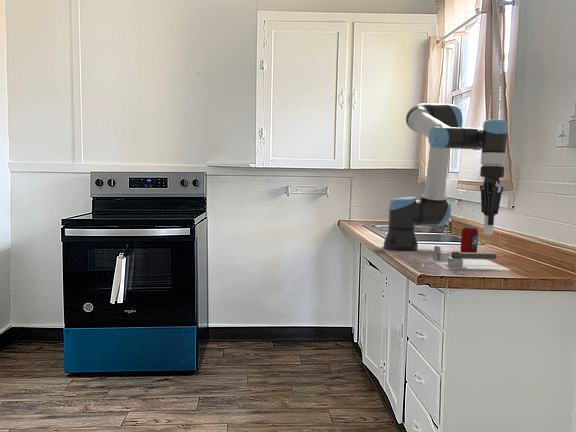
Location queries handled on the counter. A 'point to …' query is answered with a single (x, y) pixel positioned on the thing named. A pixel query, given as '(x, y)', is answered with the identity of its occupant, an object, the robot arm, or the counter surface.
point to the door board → (473, 264)
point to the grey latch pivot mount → (455, 263)
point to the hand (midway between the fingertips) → (488, 234)
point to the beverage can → (469, 239)
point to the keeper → (440, 254)
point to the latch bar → (473, 255)
